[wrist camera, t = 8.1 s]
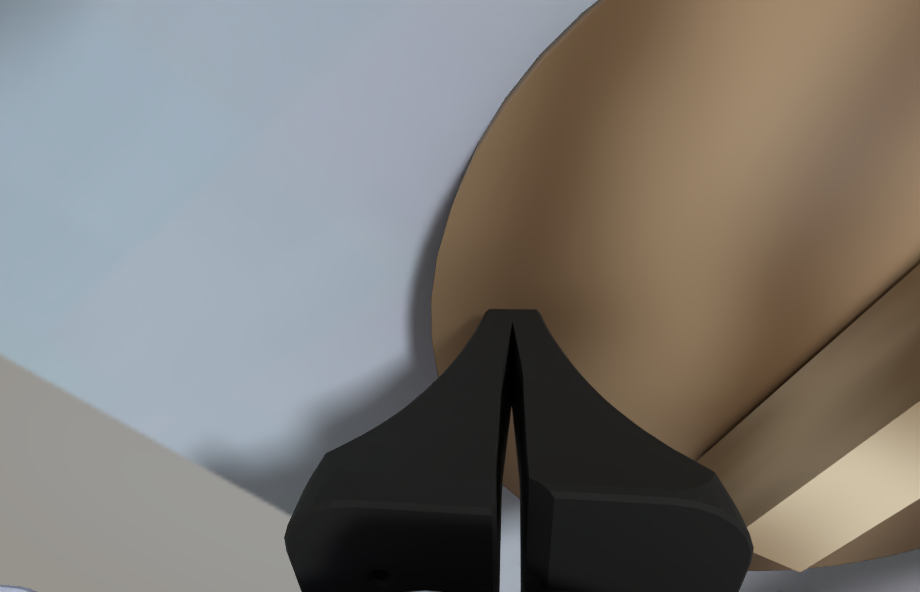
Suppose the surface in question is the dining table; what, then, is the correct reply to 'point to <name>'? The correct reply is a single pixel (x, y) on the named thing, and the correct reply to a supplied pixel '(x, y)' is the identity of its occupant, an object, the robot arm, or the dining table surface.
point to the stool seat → (697, 207)
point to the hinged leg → (832, 439)
